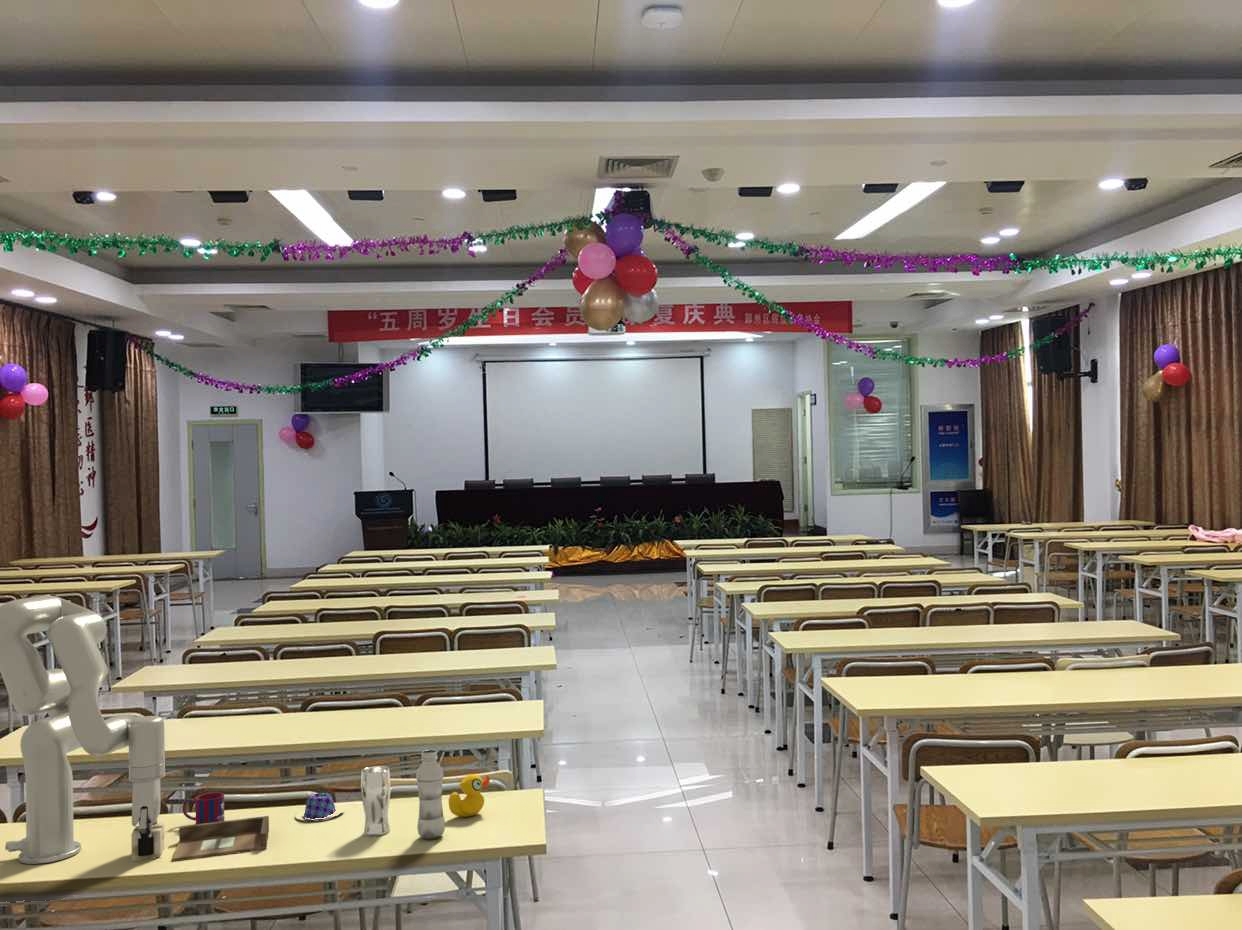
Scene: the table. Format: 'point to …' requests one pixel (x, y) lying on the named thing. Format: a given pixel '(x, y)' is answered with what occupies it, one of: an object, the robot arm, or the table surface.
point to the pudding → (319, 806)
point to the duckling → (469, 796)
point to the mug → (207, 808)
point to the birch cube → (158, 842)
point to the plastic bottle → (430, 796)
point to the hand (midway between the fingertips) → (148, 849)
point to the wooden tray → (222, 838)
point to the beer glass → (376, 799)
